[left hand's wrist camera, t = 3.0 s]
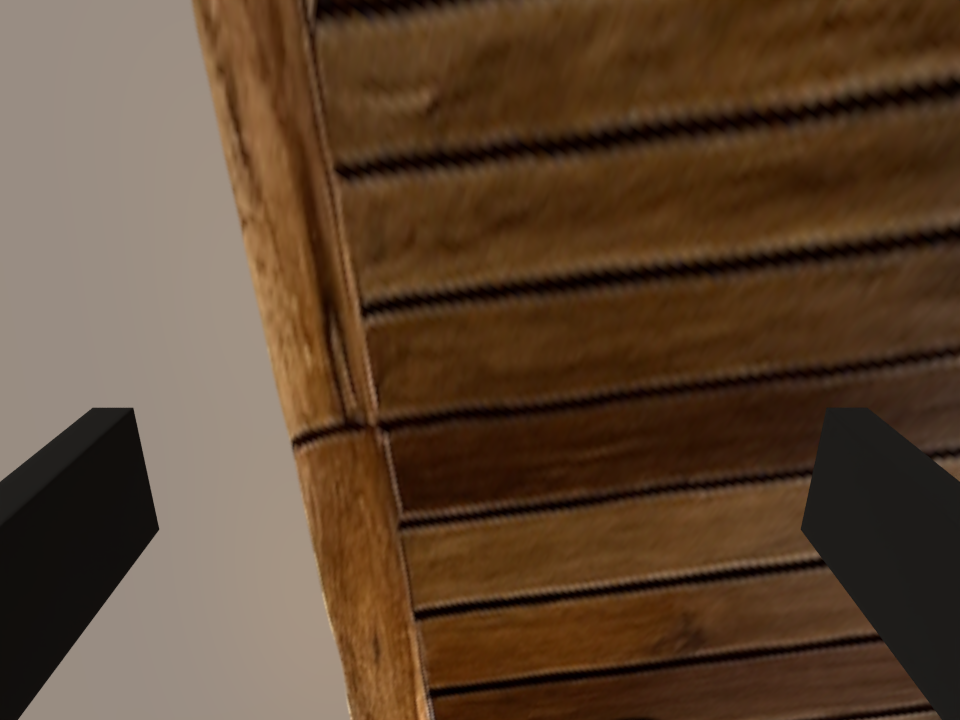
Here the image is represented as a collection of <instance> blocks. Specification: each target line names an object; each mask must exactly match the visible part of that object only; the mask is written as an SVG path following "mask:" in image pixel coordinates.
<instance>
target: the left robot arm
mask: <svg viewBox="0 0 960 720" xmlns="http://www.w3.org/2000/svg"><path fill="white" fill-rule="evenodd" d="M158 530H159V526H158V522H157V517H156V512H155V507H154V503H153V498H152V493H151V489H150V484H149V479H148V475H147V470H146V465H145V461H144V456H143V451H142V447H141V442H140V437H139V433H138V428H137V423H136V419H135V414H134V409H133V408H92V409H91V410H89V411H88V412H87V413H86V414H84V415H83V416H82V417H81V418H79V419H78V420H77V421H76V422H74V423H73V424H72V425H71V426H69V427H68V428H67V429H66V430H64V431H63V432H62V433H61V434H59V435H58V436H57V437H56V438H54V439H53V440H52V441H51V442H49V443H48V444H47V445H46V446H44V447H43V448H42V449H41V450H39V451H38V452H37V453H36V454H34V455H33V456H32V457H31V458H29V459H28V460H27V461H26V462H24V463H23V464H22V465H21V466H19V467H18V468H17V469H16V470H14V471H13V472H12V473H11V474H9V475H8V476H7V477H6V478H4V479H3V480H2V481H1V482H0V720H18V719H19V717H20V716H21V715H22V713H23V712H24V711H25V709H26V708H27V707H28V705H29V704H30V703H31V701H32V700H33V699H34V697H35V696H36V695H37V693H38V692H39V691H40V689H41V688H42V687H43V685H44V684H45V682H46V681H47V680H48V679H49V677H50V676H51V674H52V673H53V672H54V670H55V669H56V668H57V666H58V665H59V664H60V662H61V661H62V660H63V658H64V657H65V656H66V654H67V653H68V652H69V650H70V649H71V647H72V646H73V645H74V643H75V642H76V641H77V639H78V638H79V637H80V635H81V634H82V633H83V631H84V630H85V629H86V627H87V626H88V625H89V623H90V622H91V621H92V619H93V618H94V617H95V615H96V614H97V613H98V611H99V610H100V608H101V607H102V606H103V604H104V603H105V602H106V600H107V599H108V598H109V596H110V595H111V594H112V592H113V591H114V590H115V588H116V587H117V586H118V584H119V583H120V582H121V580H122V579H123V578H124V576H125V575H126V574H127V572H128V571H129V570H130V568H131V567H132V565H133V564H134V563H135V561H136V560H137V559H138V557H139V556H140V555H141V553H142V552H143V551H144V549H145V548H146V547H147V545H148V544H149V543H150V541H151V540H152V539H153V537H154V536H155V534H156V533H157V532H158ZM801 530H802V532H803V533H804V535H805V536H806V537H807V539H808V540H809V541H810V543H811V544H812V545H813V547H814V548H815V549H816V551H817V552H818V553H819V555H820V556H821V557H822V559H823V560H824V561H825V563H826V564H827V565H828V567H829V568H830V570H831V571H832V572H833V574H834V575H835V576H836V578H837V579H838V580H839V582H840V583H841V584H842V586H843V587H844V588H845V590H846V591H847V592H848V594H849V595H850V596H851V598H852V599H853V600H854V602H855V603H856V604H857V606H858V607H859V609H860V610H861V611H862V613H863V614H864V615H865V617H866V618H867V619H868V621H869V622H870V623H871V625H872V626H873V627H874V629H875V630H876V631H877V633H878V634H879V635H880V637H881V638H882V639H883V641H884V642H885V644H886V645H887V646H888V648H889V649H890V650H891V652H892V653H893V654H894V656H895V657H896V658H897V660H898V661H899V662H900V664H901V665H902V666H903V668H904V669H905V670H906V672H907V673H908V674H909V676H910V677H911V679H912V680H913V681H914V683H915V684H916V685H917V687H918V688H919V689H920V691H921V692H922V693H923V695H924V696H925V697H926V699H927V700H928V701H929V703H930V704H931V705H932V707H933V708H934V709H935V711H936V712H937V713H938V715H939V716H940V718H941V719H942V720H960V482H959V481H958V480H957V479H956V478H954V477H953V476H952V475H951V474H949V473H948V472H947V471H946V470H944V469H943V468H942V467H941V466H939V465H938V464H937V463H936V462H934V461H933V460H932V459H931V458H929V457H928V456H927V455H926V454H924V453H923V452H922V451H921V450H919V449H918V448H917V447H916V446H914V445H913V444H912V443H911V442H909V441H908V440H907V439H906V438H904V437H903V436H902V435H901V434H899V433H898V432H897V431H896V430H894V429H893V428H892V427H891V426H889V425H888V424H887V423H886V422H884V421H883V420H882V419H881V418H879V417H878V416H877V415H876V414H874V413H873V412H872V411H871V410H869V409H868V408H827V409H826V414H825V418H824V423H823V428H822V432H821V437H820V442H819V446H818V451H817V456H816V461H815V465H814V470H813V475H812V479H811V484H810V489H809V493H808V498H807V503H806V507H805V512H804V517H803V521H802V526H801Z"/></svg>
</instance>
